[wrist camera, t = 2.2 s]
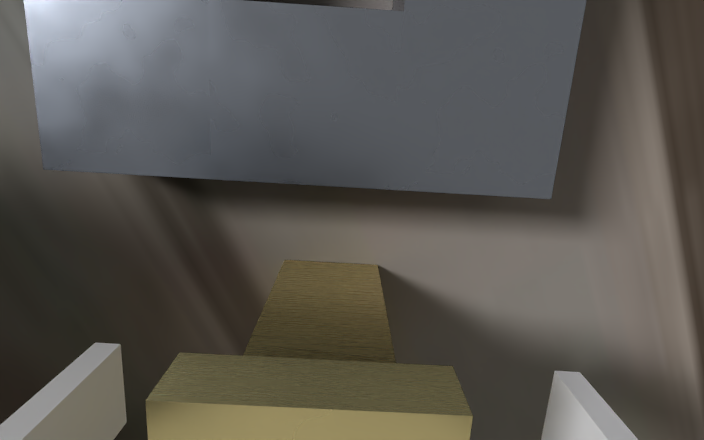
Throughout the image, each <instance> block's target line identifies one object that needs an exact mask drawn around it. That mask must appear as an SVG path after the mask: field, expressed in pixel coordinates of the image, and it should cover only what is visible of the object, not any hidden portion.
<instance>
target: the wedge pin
mask: <svg viewBox="0 0 704 440" xmlns="http://www.w3.org/2000/svg"><path fill="white" fill-rule="evenodd" d="M145 402H146V417H147V432H148V440H470V433H471V426H472V420H473V415H472V412H471V410H470V407H469V405H468V403H467V400H466V398H465V395H464V393H463V390H462V388H461V385H460V383H459V381H458V378H457V376H456V373H455V371H454V368H453V366H441V365H421V364H401V363H396V360H395V355H394V350H393V345H392V339H391V334H390V329H389V323H388V318H387V313H386V307H385V302H384V297H383V291H382V286H381V281H380V276H379V270H378V265H369V264H351V263H332V262H314V261H296V260H284V263H283V265H282V267H281V270H280V272H279V274H278V276H277V279H276V281H275V283H274V286H273V288H272V290H271V292H270V295H269V297H268V299H267V302H266V304H265V306H264V309H263V311H262V313H261V315H260V318H259V320H258V322H257V325H256V327H255V329H254V331H253V334H252V336H251V338H250V341H249V343H248V345H247V348H246V350H245V352H244V354H243V356H240V355H220V354H200V353H180V352H179V354H178V355H177V357H176V358H175V359H174V361H173V362H172V364H171V365H170V367H169V368H168V369H167V371H166V372H165V374H164V375H163V376H162V378H161V379H160V381H159V382H158V384H157V385H156V386H155V388H154V389H153V391H152V392H151V393H150V395H149V396H148V398H147V399H146V401H145Z"/></svg>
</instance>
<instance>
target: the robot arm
mask: <svg viewBox="0 0 704 440" xmlns="http://www.w3.org/2000/svg"><path fill="white" fill-rule="evenodd" d="M126 423H127V419H126V406H125V393H124V380H123V367H122V354H121V344H111V343H94V344H93V345H92V346H91V347H90V348H88V349H87V350H86V351H85V352H84V353H83V354H81V355H80V356H79V357H78V358H77V359H76V360H75V361H73V362H72V363H71V364H70V365H69V366H68V367H66V368H65V369H64V370H63V371H62V372H61V373H60V374H58V375H57V376H56V377H55V378H54V379H53V380H51V381H50V382H49V383H48V384H47V385H46V386H45V387H43V388H42V389H41V390H40V391H39V392H38V393H36V394H35V395H34V396H33V397H32V398H31V399H30V400H28V401H27V402H26V403H25V404H24V405H23V406H21V407H20V408H19V409H18V410H17V411H16V412H15V413H13V414H12V415H11V416H10V417H9V418H8V419H6V420H5V421H4V422H3V423H2V424H1V425H0V440H114V439H115V437H116V436H117V435H118V433H119V432H120V431H121V429H122V428H123V427H124V425H125V424H126ZM541 440H638V439H637V438H636V436H635V435H634V434H633V433H632V432H631V431H630V429H629V428H628V427H627V426H626V425H625V424H624V423H623V421H622V420H621V419H620V418H619V417H618V416H617V414H616V413H615V412H614V411H613V410H612V409H611V408H610V406H609V405H608V404H607V403H606V402H605V401H604V399H603V398H602V397H601V396H600V395H599V394H598V393H597V391H596V390H595V389H594V388H593V387H592V386H591V384H590V383H589V382H588V381H587V380H586V379H585V377H584V376H583V375H582V374H581V373H580V372H569V371H554V376H553V382H552V387H551V392H550V397H549V402H548V407H547V412H546V417H545V422H544V427H543V432H542V437H541Z"/></svg>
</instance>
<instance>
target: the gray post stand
mask: <svg viewBox="0 0 704 440" xmlns="http://www.w3.org/2000/svg"><path fill="white" fill-rule="evenodd" d="M24 6H25V15H26V24H27V32H28V41H29V49H30V58H31V67H32V75H33V84H34V92H35V101H36V110H37V118H38V127H39V135H40V144H41V153H42V161H43V169H45V170H62V171H79V172H96V173H113V174H130V175H147V176H164V177H181V178H198V179H215V180H232V181H249V182H266V183H283V184H301V185H318V186H335V187H352V188H369V189H386V190H403V191H420V192H437V193H454V194H471V195H488V196H505V197H522V198H539V199H551V197H552V191H553V186H554V180H555V174H556V169H557V163H558V158H559V152H560V146H561V141H562V135H563V130H564V124H565V118H566V113H567V107H568V101H569V96H570V90H571V85H572V79H573V73H574V68H575V62H576V56H577V51H578V45H579V40H580V34H581V28H582V23H583V17H584V11H585V6H586V0H393V10H378V9H363V8H348V7H334V6H319V5H304V4H290V3H275V2H260V1H245V0H24Z"/></svg>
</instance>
